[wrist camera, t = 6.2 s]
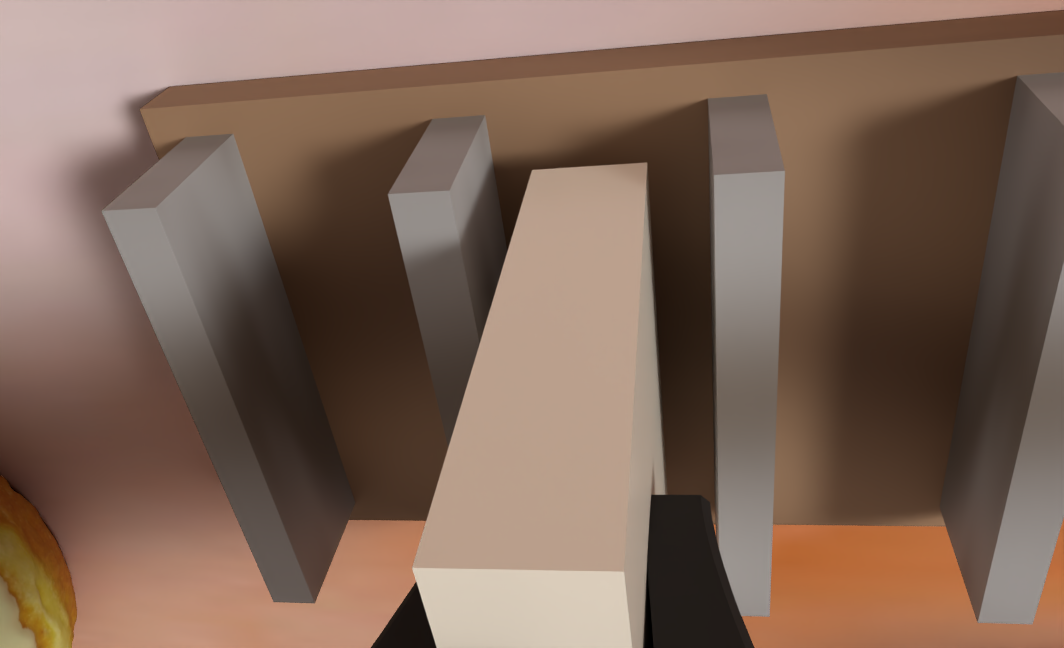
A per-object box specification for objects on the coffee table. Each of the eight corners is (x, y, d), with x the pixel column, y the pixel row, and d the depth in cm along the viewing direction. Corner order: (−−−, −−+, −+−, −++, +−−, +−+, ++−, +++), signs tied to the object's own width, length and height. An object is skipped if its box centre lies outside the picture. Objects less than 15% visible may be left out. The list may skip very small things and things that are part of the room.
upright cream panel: (669, 519, 16) (666, 970, 10) (581, 519, 16) (532, 958, 11) (647, 162, 12) (624, 572, 6) (532, 170, 12) (411, 568, 7)
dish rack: (1001, 487, 17) (1067, 645, 14) (313, 485, 19) (251, 618, 17) (1112, 6, 12) (1249, 98, 9) (169, 86, 14) (45, 179, 12)
